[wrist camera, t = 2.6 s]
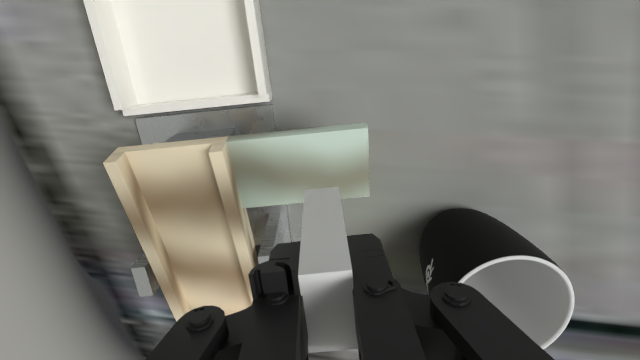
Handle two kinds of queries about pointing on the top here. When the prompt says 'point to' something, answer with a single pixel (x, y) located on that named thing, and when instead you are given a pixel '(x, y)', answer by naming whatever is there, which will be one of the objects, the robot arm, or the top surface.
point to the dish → (180, 53)
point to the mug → (498, 271)
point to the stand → (265, 220)
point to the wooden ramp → (226, 201)
